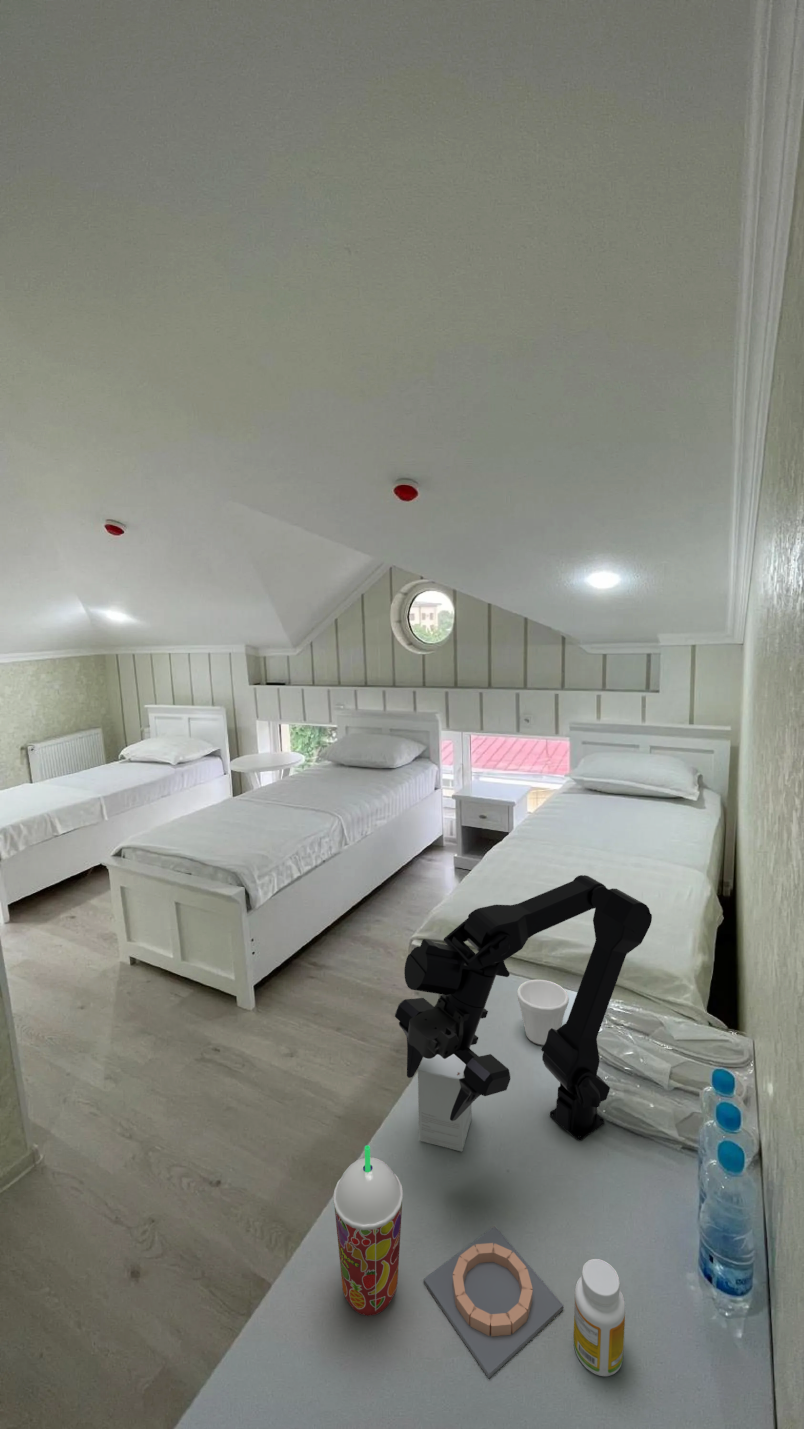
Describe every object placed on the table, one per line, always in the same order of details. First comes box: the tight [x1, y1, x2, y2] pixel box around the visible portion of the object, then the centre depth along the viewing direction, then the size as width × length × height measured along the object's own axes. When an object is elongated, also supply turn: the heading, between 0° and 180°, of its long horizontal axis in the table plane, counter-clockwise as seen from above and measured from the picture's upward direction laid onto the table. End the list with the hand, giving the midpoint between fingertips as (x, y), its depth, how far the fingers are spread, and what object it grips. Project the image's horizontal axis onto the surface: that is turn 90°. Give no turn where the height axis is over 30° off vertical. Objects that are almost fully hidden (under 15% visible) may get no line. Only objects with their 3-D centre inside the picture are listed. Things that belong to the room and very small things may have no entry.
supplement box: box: [416, 1054, 473, 1152], centre depth 99 cm, size 7×7×13 cm
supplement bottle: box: [573, 1258, 626, 1377], centre depth 69 cm, size 5×5×10 cm
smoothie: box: [332, 1145, 404, 1317], centre depth 74 cm, size 8×8×20 cm
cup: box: [516, 979, 570, 1047], centre depth 122 cm, size 10×10×9 cm
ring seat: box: [423, 1225, 564, 1379], centre depth 75 cm, size 12×12×2 cm
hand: (430, 1097), depth 89 cm, fingers open, 9 cm apart
